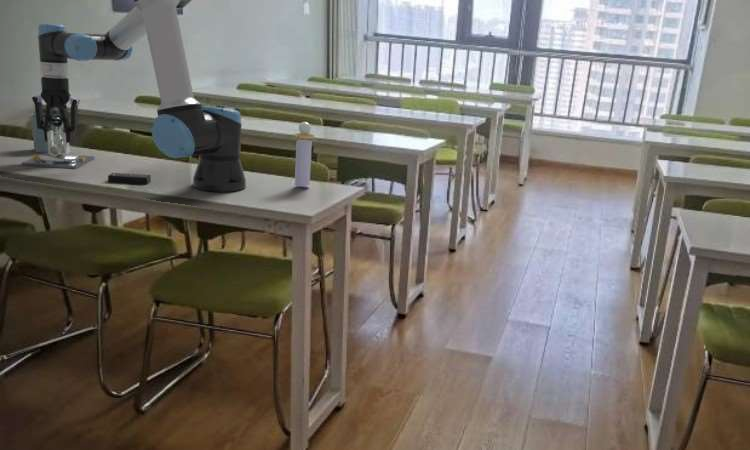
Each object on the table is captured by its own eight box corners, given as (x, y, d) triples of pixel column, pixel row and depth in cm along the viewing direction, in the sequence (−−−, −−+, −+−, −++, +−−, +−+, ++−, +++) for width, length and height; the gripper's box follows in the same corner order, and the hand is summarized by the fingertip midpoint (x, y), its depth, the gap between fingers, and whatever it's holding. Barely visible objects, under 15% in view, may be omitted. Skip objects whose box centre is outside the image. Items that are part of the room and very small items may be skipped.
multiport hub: (147, 185, 187) (146, 178, 187) (107, 183, 187) (107, 175, 186) (151, 182, 192) (151, 174, 191) (112, 180, 191) (112, 172, 190)
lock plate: (76, 168, 199) (75, 162, 199) (21, 165, 198) (21, 158, 197) (94, 158, 214) (94, 152, 214) (44, 155, 213) (43, 149, 213)
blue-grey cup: (25, 150, 218) (22, 114, 215) (48, 146, 228) (45, 112, 224) (50, 154, 216) (48, 118, 212) (72, 150, 225) (70, 115, 222)
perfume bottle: (303, 190, 195) (306, 123, 190) (288, 187, 198) (291, 121, 193) (315, 187, 200) (318, 122, 194) (300, 184, 203) (303, 120, 197)
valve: (74, 154, 209) (72, 117, 205) (64, 158, 202) (62, 119, 199) (54, 153, 209) (52, 115, 205) (43, 156, 202) (40, 118, 199)
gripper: (20, 75, 194) (25, 152, 201) (78, 79, 196) (82, 156, 202) (31, 73, 202) (36, 148, 208) (87, 77, 203) (91, 152, 210)
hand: (59, 152), depth 205 cm, fingers closed on valve, 4 cm apart
